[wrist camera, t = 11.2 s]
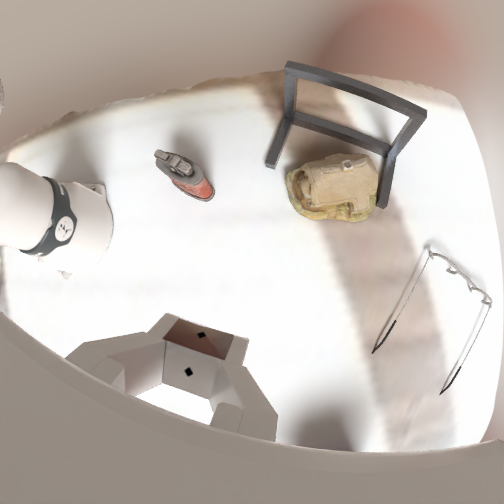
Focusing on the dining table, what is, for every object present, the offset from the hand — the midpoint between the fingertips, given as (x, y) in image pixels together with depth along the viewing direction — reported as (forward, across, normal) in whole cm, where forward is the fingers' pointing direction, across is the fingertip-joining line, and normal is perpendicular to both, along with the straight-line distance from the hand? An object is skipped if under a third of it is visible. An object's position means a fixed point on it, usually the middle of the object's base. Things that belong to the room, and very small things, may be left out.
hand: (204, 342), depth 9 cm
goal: (+38, -7, -12) cm, 40 cm away
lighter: (+35, +14, -2) cm, 38 cm away
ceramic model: (+36, -8, -7) cm, 37 cm away
